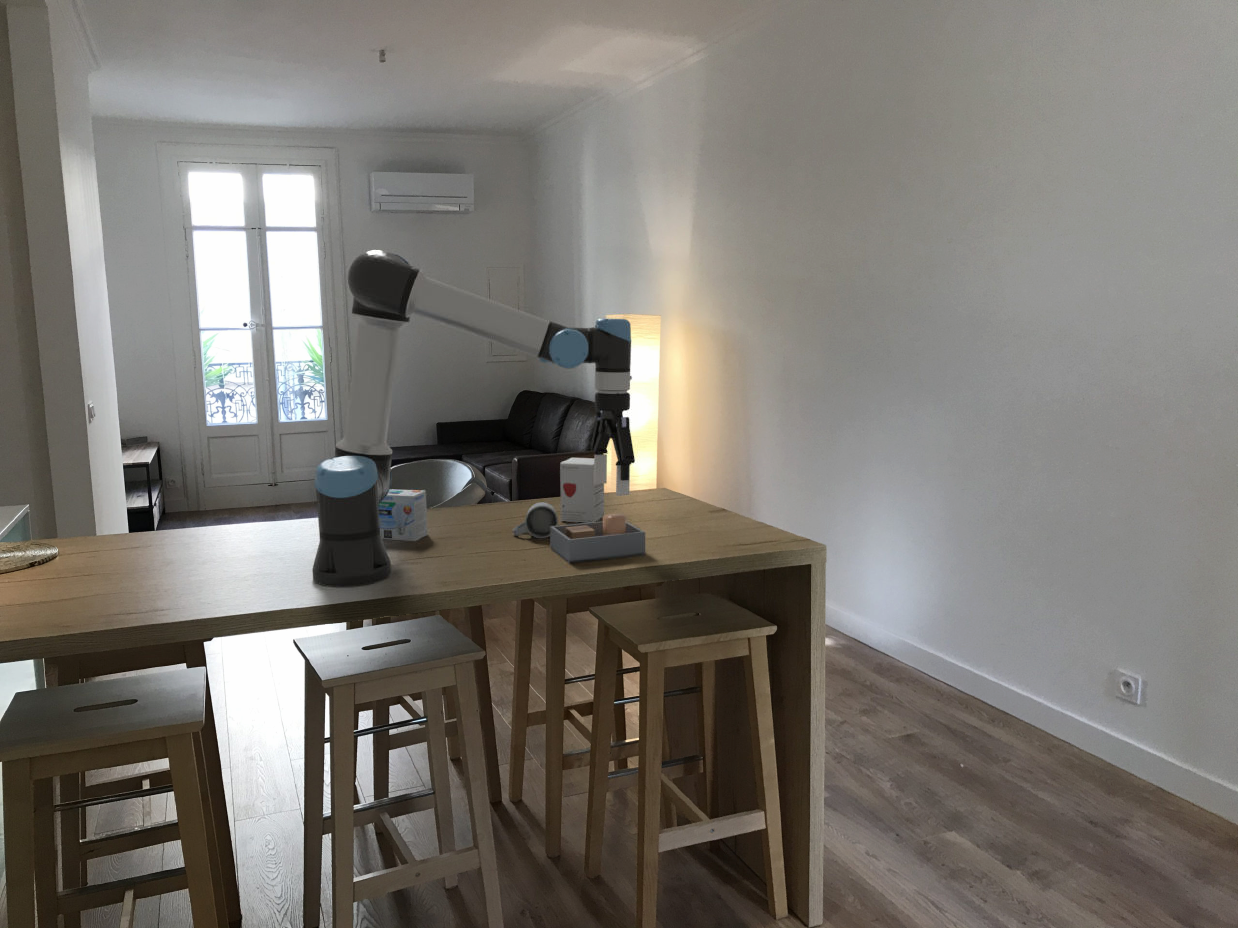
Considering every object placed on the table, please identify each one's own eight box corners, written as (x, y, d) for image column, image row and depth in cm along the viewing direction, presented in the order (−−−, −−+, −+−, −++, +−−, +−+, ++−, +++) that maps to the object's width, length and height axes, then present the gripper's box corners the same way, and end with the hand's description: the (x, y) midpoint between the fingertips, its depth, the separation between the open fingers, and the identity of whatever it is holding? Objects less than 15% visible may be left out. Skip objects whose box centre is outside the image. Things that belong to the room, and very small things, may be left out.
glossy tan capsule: (608, 551, 201) (607, 519, 200) (600, 546, 206) (599, 515, 205) (629, 548, 203) (629, 517, 202) (621, 543, 208) (620, 512, 207)
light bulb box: (373, 539, 216) (371, 493, 215) (387, 532, 223) (385, 488, 221) (416, 541, 214) (413, 495, 212) (428, 534, 220) (426, 489, 218)
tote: (569, 563, 194) (568, 540, 193) (550, 548, 206) (550, 526, 205) (645, 554, 200) (645, 532, 199) (622, 540, 212) (622, 519, 212)
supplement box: (559, 522, 232) (558, 462, 229) (571, 514, 240) (570, 456, 237) (594, 524, 229) (593, 464, 226) (605, 516, 237) (604, 458, 235)
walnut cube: (595, 552, 200) (594, 530, 199) (573, 555, 198) (572, 532, 198) (587, 547, 205) (586, 525, 204) (565, 549, 203) (565, 527, 202)
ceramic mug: (557, 529, 224) (556, 498, 222) (558, 537, 216) (557, 505, 214) (513, 531, 223) (511, 500, 222) (512, 540, 215) (511, 507, 214)
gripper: (651, 396, 189) (649, 499, 192) (608, 386, 212) (607, 478, 215) (617, 397, 186) (615, 501, 190) (577, 386, 209) (576, 479, 212)
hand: (611, 489), depth 202 cm, fingers open, 13 cm apart
